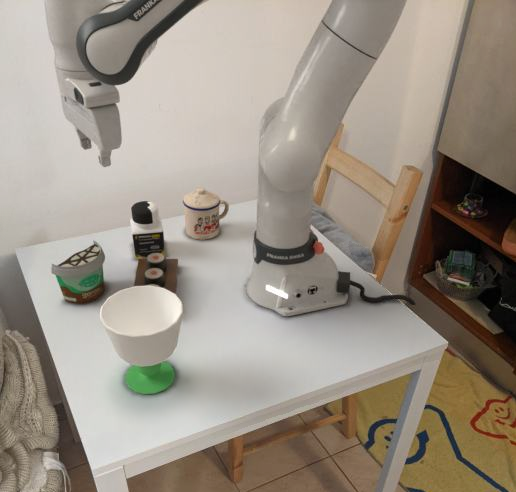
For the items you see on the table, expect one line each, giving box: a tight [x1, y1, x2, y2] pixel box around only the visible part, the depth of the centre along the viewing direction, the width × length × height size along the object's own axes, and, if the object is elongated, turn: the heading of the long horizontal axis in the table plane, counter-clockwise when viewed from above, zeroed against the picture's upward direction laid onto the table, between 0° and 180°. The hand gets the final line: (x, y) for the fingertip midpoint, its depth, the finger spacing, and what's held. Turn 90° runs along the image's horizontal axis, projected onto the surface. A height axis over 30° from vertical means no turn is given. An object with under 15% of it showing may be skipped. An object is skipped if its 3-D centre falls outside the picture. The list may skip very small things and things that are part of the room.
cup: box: [99, 285, 184, 395], centre depth 97 cm, size 14×14×16 cm
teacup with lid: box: [182, 187, 230, 241], centre depth 138 cm, size 12×9×12 cm
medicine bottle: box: [129, 200, 166, 260], centre depth 130 cm, size 7×7×12 cm
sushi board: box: [133, 253, 179, 295], centre depth 120 cm, size 9×20×5 cm, turn 4°
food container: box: [50, 239, 106, 305], centre depth 116 cm, size 12×6×10 cm, turn 146°
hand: (95, 156), depth 109 cm, fingers open, 8 cm apart
